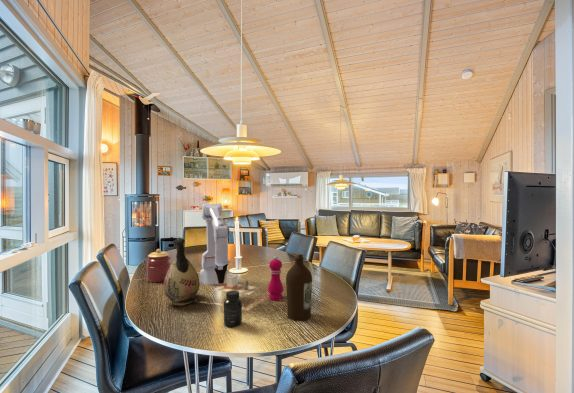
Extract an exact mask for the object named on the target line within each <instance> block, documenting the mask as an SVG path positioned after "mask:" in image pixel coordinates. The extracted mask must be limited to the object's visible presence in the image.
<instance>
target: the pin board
mask: <svg viewBox="0 0 574 393" xmlns="http://www.w3.org/2000/svg"><path fill="white" fill-rule="evenodd" d="M243 283H244V284H240V283H239V284H238V287H236V288H234V289H225V288H224V286H217V287H216V288H214V290H215V291H221V292H226V293H227V292H228V291H238V292H239V295H240V294H241V295H249V296H250V295H251V294H253V293H254V292H256V291H257V290H259V289H261V286H254V285H249V280H248V279H244V280H243Z"/></svg>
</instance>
